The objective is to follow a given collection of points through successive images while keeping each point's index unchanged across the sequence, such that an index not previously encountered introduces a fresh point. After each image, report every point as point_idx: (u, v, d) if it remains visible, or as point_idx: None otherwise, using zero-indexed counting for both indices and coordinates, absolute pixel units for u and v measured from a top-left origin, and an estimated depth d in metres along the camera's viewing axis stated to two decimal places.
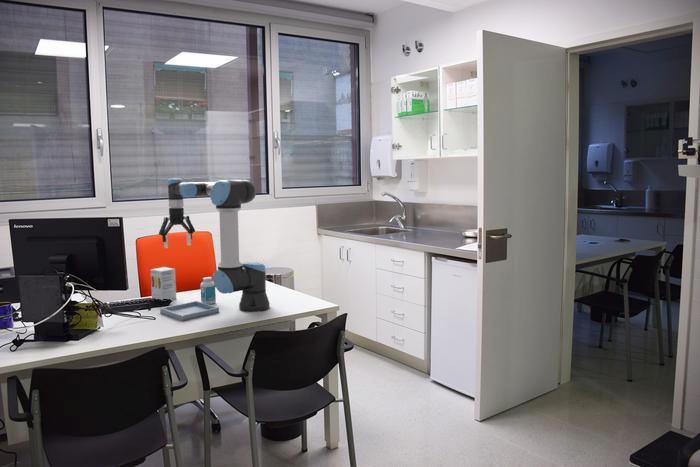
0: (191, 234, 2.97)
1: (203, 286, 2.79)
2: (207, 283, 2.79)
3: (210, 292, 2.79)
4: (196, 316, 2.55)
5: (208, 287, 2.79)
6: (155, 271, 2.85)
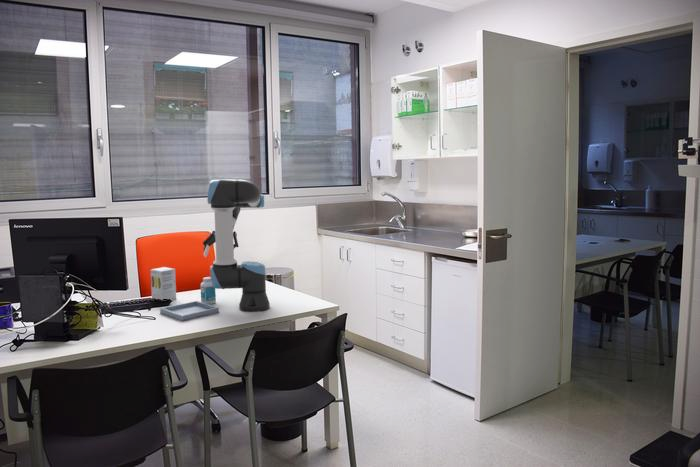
0: None
1: (203, 286, 2.79)
2: (207, 283, 2.79)
3: (210, 292, 2.79)
4: (196, 316, 2.55)
5: (208, 287, 2.79)
6: (155, 271, 2.85)
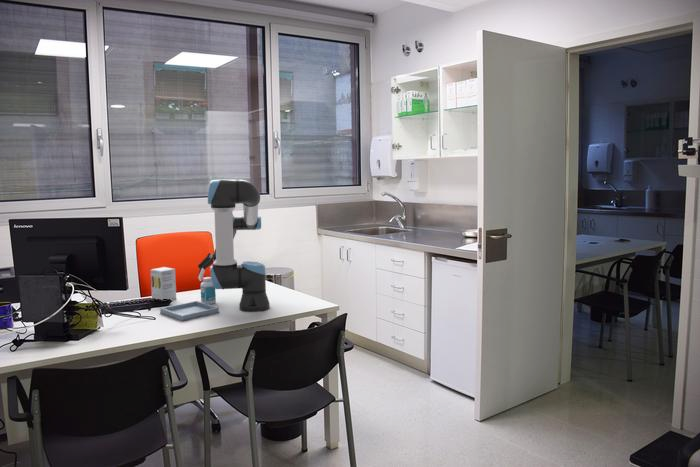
0: None
1: (203, 286, 2.79)
2: (207, 283, 2.79)
3: (210, 292, 2.79)
4: (196, 316, 2.55)
5: (208, 287, 2.79)
6: (155, 271, 2.85)
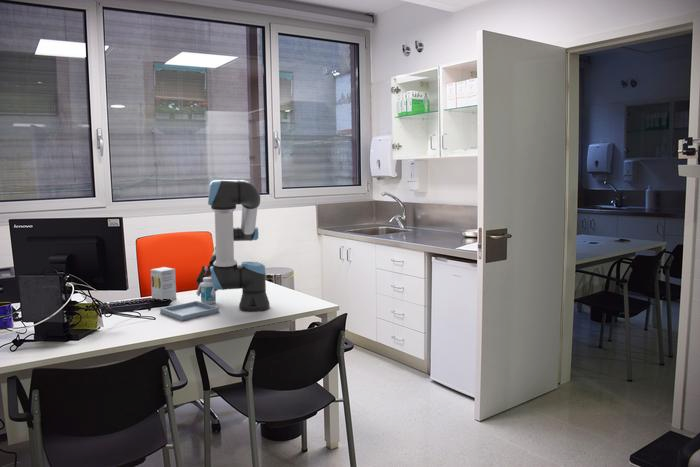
0: None
1: (203, 286, 2.79)
2: (207, 283, 2.79)
3: (210, 292, 2.79)
4: (196, 316, 2.55)
5: (208, 287, 2.79)
6: (155, 271, 2.85)
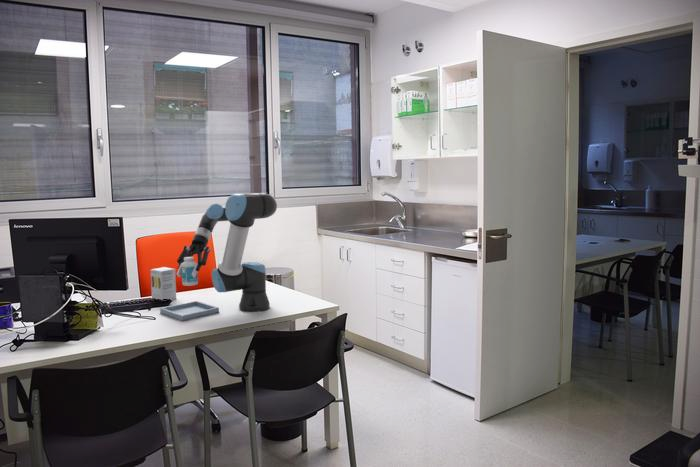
0: (199, 265, 2.63)
1: (184, 266, 2.61)
2: (188, 263, 2.61)
3: None
4: (196, 316, 2.55)
5: (189, 267, 2.61)
6: (155, 271, 2.85)
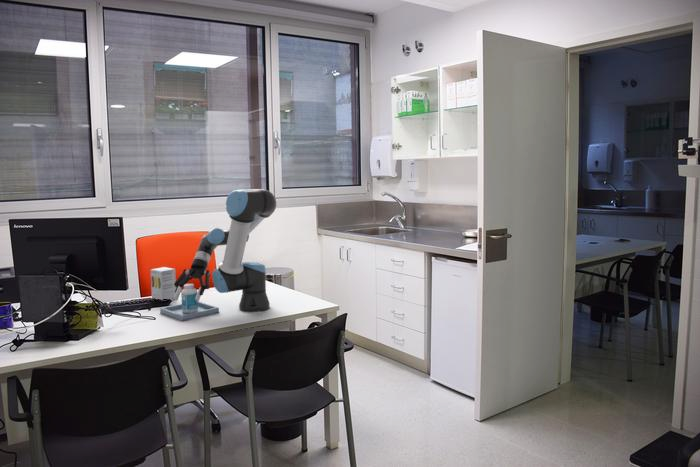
0: (202, 289, 2.62)
1: (184, 293, 2.59)
2: (188, 290, 2.60)
3: (192, 300, 2.60)
4: (196, 316, 2.55)
5: (189, 295, 2.59)
6: (155, 271, 2.85)
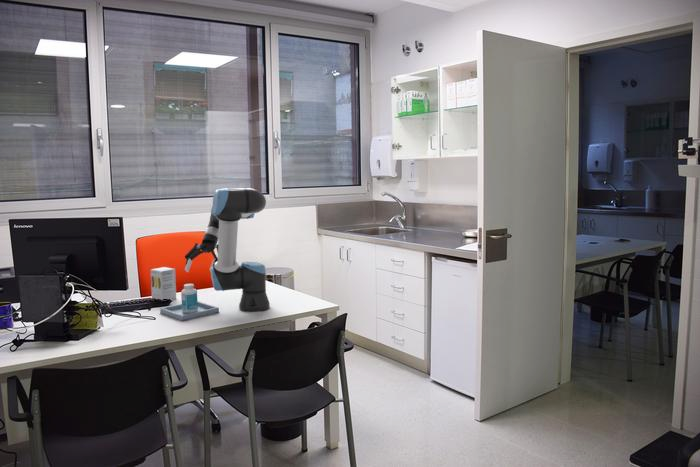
0: (216, 261, 2.73)
1: (184, 294, 2.59)
2: (188, 290, 2.60)
3: (192, 300, 2.60)
4: (196, 316, 2.55)
5: (189, 295, 2.59)
6: (155, 271, 2.85)
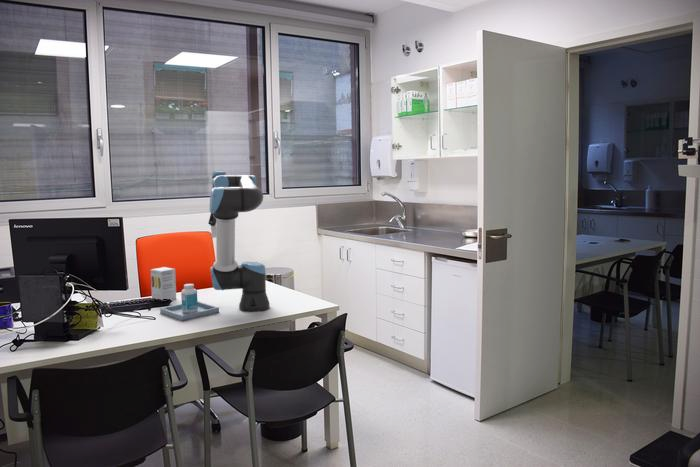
0: None
1: (184, 294, 2.59)
2: (188, 290, 2.60)
3: (192, 300, 2.60)
4: (196, 316, 2.55)
5: (189, 295, 2.59)
6: (155, 271, 2.85)
